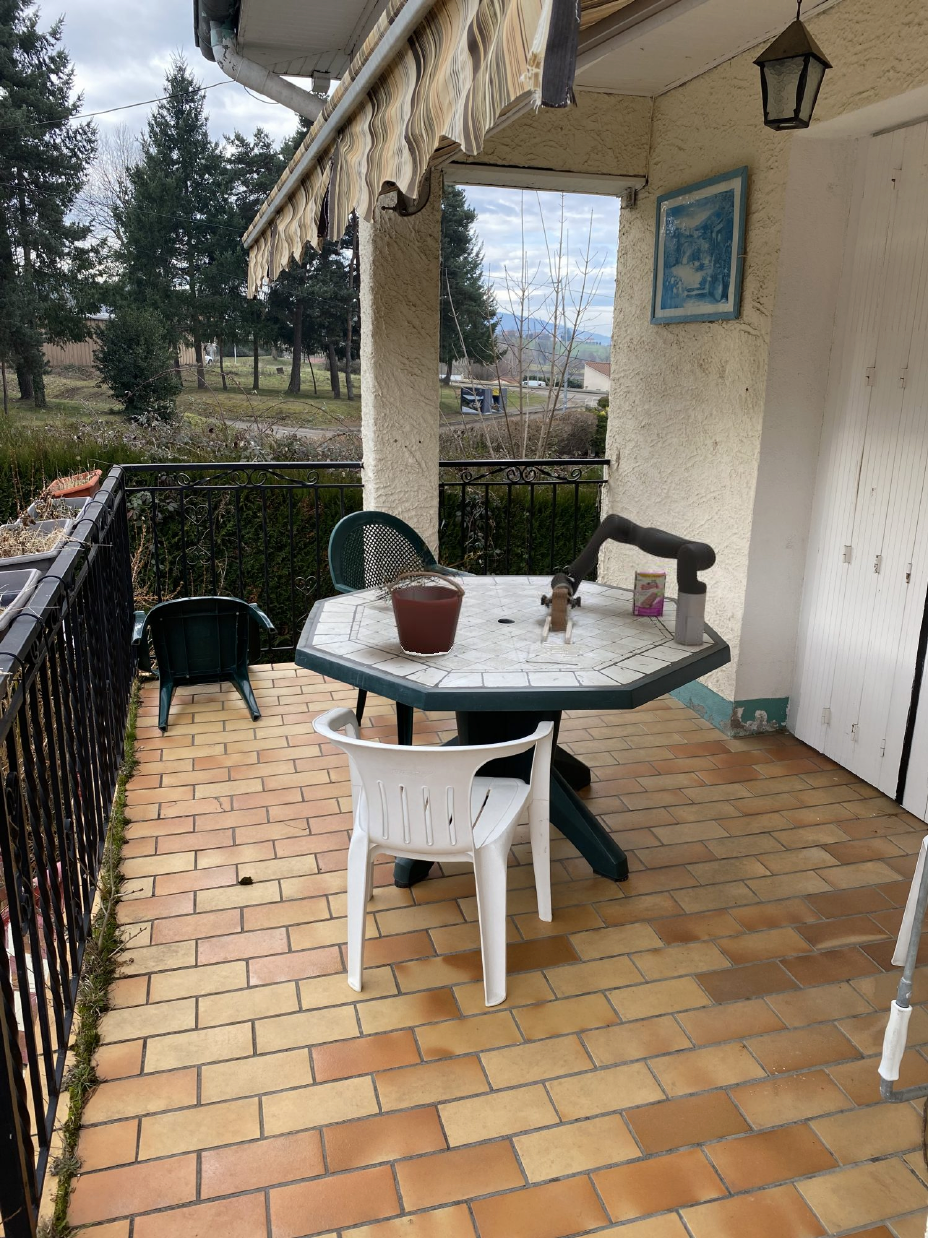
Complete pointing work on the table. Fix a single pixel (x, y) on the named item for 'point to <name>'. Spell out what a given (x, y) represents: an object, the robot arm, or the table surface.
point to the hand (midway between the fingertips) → (560, 605)
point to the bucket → (426, 614)
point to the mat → (567, 648)
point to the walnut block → (559, 609)
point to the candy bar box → (648, 593)
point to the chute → (547, 626)
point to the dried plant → (417, 575)
